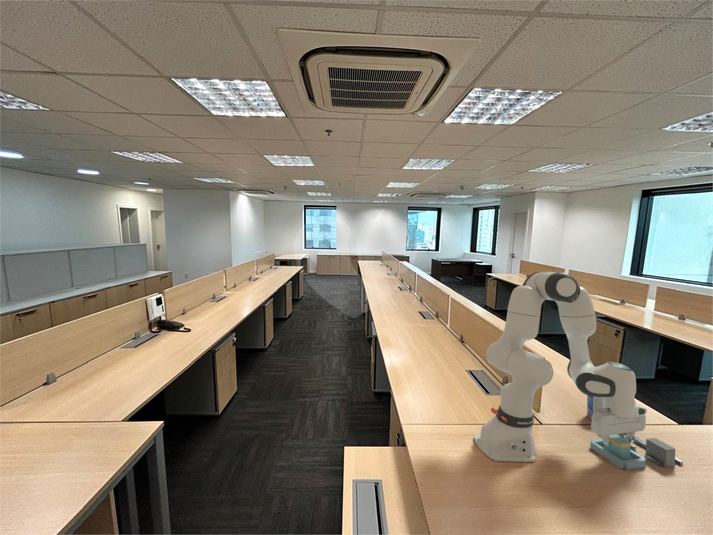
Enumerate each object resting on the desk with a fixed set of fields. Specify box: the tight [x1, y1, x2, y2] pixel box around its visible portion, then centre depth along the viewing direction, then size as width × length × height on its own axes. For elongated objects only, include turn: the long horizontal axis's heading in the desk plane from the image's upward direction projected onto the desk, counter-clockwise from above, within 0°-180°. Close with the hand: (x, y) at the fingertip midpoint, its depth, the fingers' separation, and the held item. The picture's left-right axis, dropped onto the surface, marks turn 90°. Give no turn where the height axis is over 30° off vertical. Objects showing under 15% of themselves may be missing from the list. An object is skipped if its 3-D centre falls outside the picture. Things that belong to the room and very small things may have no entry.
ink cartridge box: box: [586, 395, 603, 420], centre depth 128 cm, size 10×6×14 cm, turn 76°
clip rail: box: [625, 433, 684, 467], centre depth 110 cm, size 12×22×2 cm, turn 9°
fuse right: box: [645, 437, 676, 469], centre depth 102 cm, size 4×6×6 cm, turn 9°
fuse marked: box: [604, 434, 632, 461], centre depth 104 cm, size 4×6×6 cm
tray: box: [589, 438, 647, 471], centre depth 104 cm, size 10×12×2 cm
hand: (617, 443), depth 104 cm, fingers open, 8 cm apart
